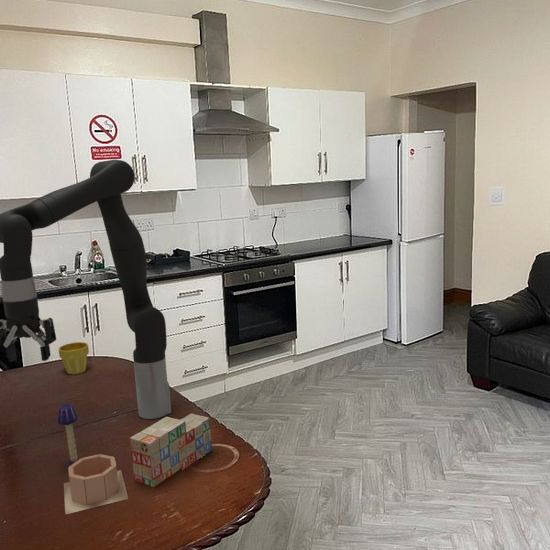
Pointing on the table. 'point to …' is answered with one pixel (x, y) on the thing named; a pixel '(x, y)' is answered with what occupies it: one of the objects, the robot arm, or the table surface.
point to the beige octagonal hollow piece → (93, 479)
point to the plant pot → (74, 357)
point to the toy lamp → (69, 428)
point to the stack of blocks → (169, 447)
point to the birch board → (75, 507)
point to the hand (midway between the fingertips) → (29, 360)
